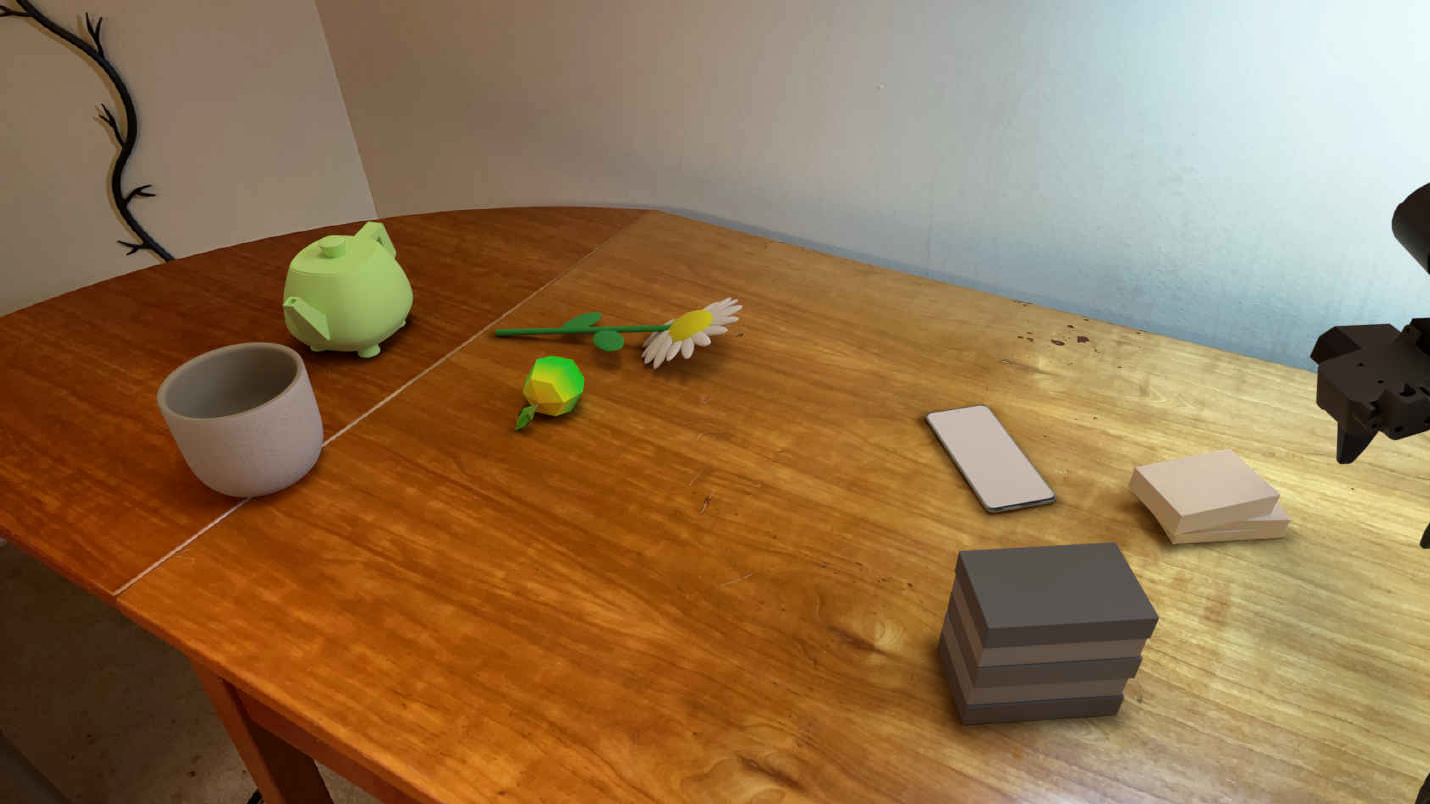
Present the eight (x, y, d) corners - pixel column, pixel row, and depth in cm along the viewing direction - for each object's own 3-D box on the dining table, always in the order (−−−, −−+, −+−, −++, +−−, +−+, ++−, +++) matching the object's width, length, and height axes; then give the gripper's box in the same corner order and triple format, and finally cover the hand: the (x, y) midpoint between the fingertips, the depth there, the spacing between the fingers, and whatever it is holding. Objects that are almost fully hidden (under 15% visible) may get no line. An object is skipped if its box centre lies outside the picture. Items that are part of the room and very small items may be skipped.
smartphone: (989, 511, 83) (924, 413, 95) (988, 515, 83) (923, 417, 95) (1059, 498, 84) (985, 403, 96) (1057, 503, 85) (985, 407, 96)
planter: (231, 532, 83) (188, 440, 76) (178, 470, 90) (134, 380, 83) (357, 467, 90) (327, 377, 83) (298, 413, 97) (267, 327, 90)
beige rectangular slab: (1285, 538, 81) (1295, 519, 80) (1170, 545, 80) (1178, 526, 79) (1241, 483, 87) (1250, 464, 85) (1134, 489, 86) (1141, 470, 85)
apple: (561, 332, 95) (520, 379, 88) (606, 372, 97) (569, 422, 90) (528, 366, 100) (486, 413, 93) (571, 405, 101) (533, 454, 94)
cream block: (1271, 514, 80) (1281, 494, 79) (1173, 536, 78) (1181, 515, 77) (1220, 467, 85) (1229, 447, 84) (1127, 486, 83) (1134, 466, 82)
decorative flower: (482, 381, 105) (736, 378, 98) (471, 344, 102) (731, 339, 95) (522, 328, 115) (754, 322, 108) (512, 293, 112) (750, 285, 106)
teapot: (365, 390, 100) (335, 291, 92) (258, 375, 102) (220, 277, 95) (447, 298, 115) (427, 207, 108) (351, 288, 118) (325, 197, 110)
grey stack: (1118, 715, 67) (1161, 617, 60) (962, 725, 66) (988, 628, 60) (1081, 638, 72) (1117, 541, 66) (937, 647, 72) (958, 550, 65)
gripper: (1282, 259, 65) (1212, 431, 74) (1479, 415, 50) (1361, 606, 59) (1429, 253, 66) (1342, 424, 75) (1667, 405, 51) (1522, 595, 60)
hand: (1383, 502), depth 67 cm, fingers open, 9 cm apart
